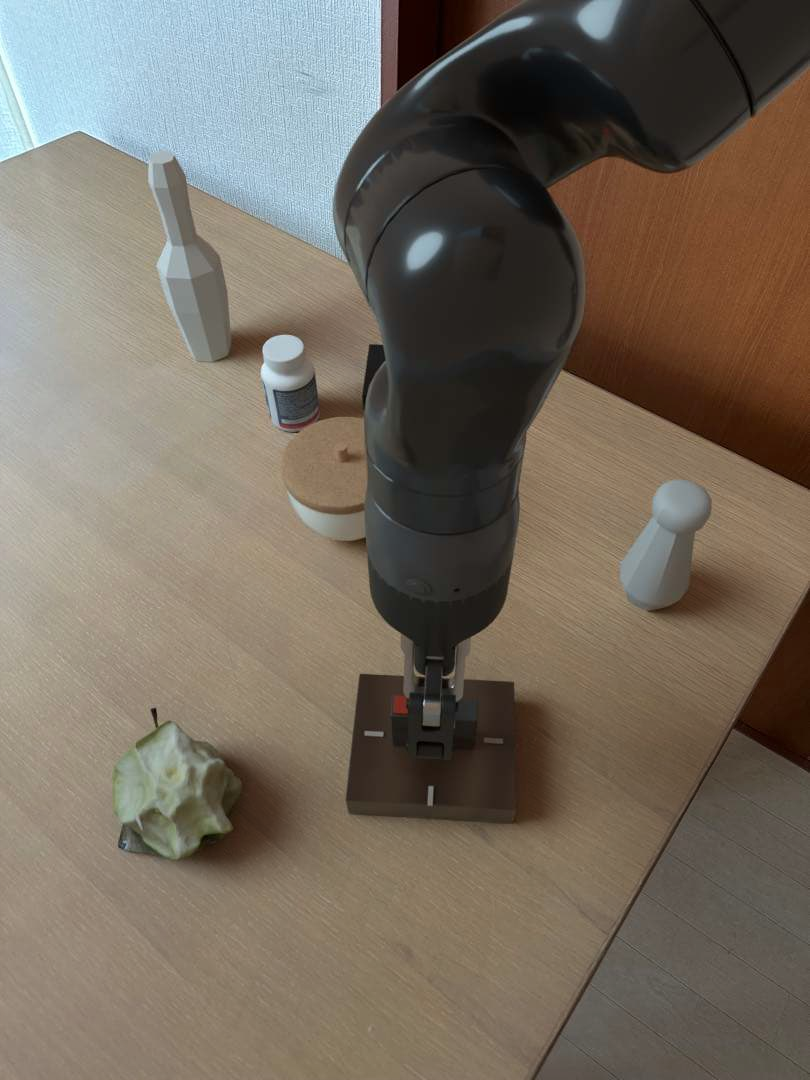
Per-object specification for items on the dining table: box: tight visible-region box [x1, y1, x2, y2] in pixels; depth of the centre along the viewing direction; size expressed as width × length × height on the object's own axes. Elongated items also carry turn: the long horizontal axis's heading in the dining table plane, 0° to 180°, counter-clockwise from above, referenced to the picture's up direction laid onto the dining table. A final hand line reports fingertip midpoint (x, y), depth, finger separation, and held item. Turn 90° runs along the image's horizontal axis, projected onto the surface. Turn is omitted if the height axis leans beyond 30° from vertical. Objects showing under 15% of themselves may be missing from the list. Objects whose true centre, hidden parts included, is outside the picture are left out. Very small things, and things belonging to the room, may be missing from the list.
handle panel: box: [345, 673, 517, 825], centre depth 62 cm, size 12×10×3 cm
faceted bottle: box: [147, 150, 233, 363], centre depth 84 cm, size 6×6×22 cm
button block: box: [361, 343, 386, 412], centre depth 87 cm, size 10×8×4 cm
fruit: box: [112, 707, 242, 862], centre depth 59 cm, size 9×9×8 cm
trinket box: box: [280, 416, 367, 542], centre depth 74 cm, size 11×11×9 cm
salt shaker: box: [619, 479, 713, 612], centre depth 67 cm, size 6×6×13 cm
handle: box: [390, 695, 478, 750], centre depth 59 cm, size 6×2×5 cm, turn 86°
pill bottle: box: [260, 334, 321, 433], centre depth 83 cm, size 5×5×9 cm
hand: (434, 685), depth 55 cm, fingers open, 8 cm apart
